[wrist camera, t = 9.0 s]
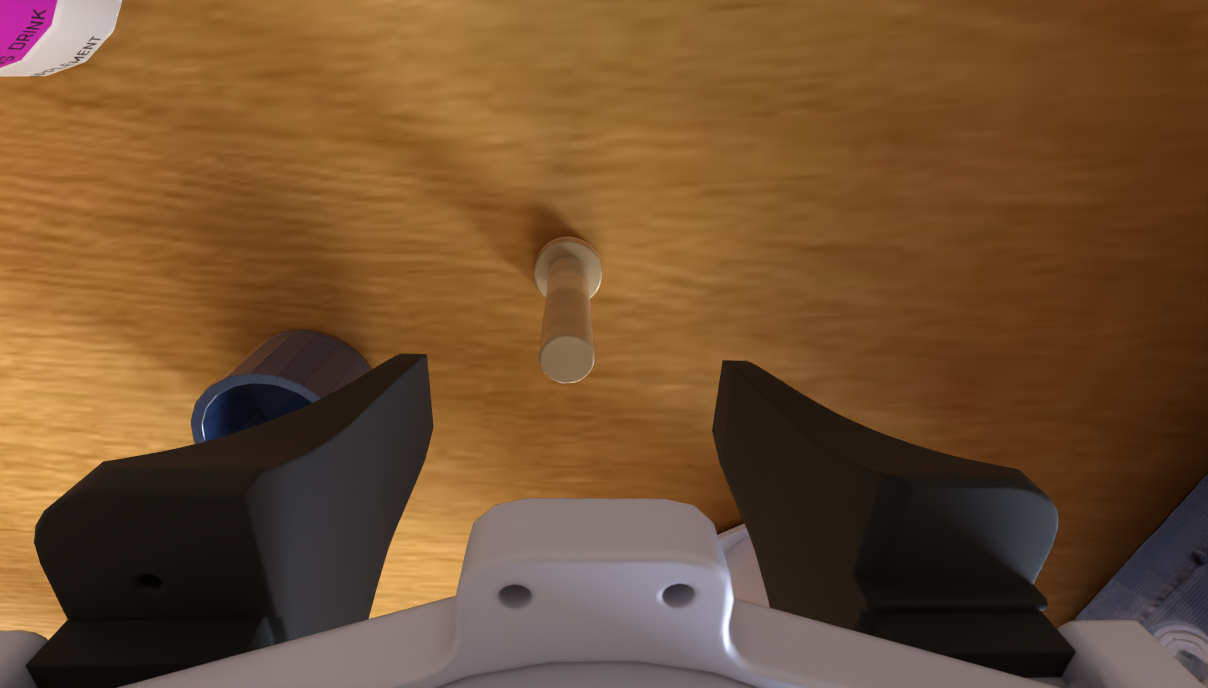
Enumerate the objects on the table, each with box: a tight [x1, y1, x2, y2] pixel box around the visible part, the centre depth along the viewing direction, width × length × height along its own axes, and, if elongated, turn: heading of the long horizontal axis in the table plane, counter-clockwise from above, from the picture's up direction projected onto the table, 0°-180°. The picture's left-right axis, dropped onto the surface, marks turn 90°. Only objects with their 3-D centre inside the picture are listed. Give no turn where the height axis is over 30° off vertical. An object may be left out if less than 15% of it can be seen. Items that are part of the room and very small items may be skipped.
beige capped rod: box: [534, 236, 602, 383], centre depth 19 cm, size 3×3×8 cm
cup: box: [191, 330, 371, 444], centre depth 23 cm, size 5×5×4 cm
